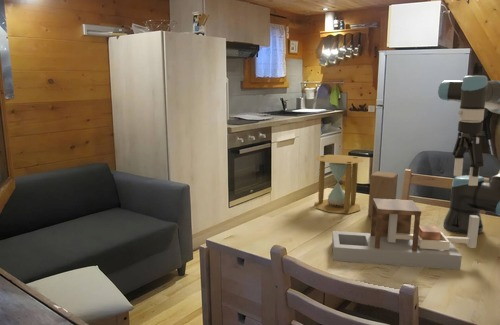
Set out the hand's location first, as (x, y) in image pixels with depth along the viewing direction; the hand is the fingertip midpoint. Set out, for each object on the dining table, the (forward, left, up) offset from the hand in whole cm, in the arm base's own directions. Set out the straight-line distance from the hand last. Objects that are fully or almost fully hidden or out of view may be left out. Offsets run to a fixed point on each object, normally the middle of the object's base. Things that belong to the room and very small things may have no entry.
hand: (464, 180), depth 149 cm
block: (+12, +7, -23) cm, 27 cm away
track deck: (+24, +7, -28) cm, 37 cm away
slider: (+11, +7, -22) cm, 26 cm away
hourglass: (+41, -49, -28) cm, 70 cm away
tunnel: (+24, +7, -23) cm, 34 cm away
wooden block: (+21, -39, -28) cm, 53 cm away
